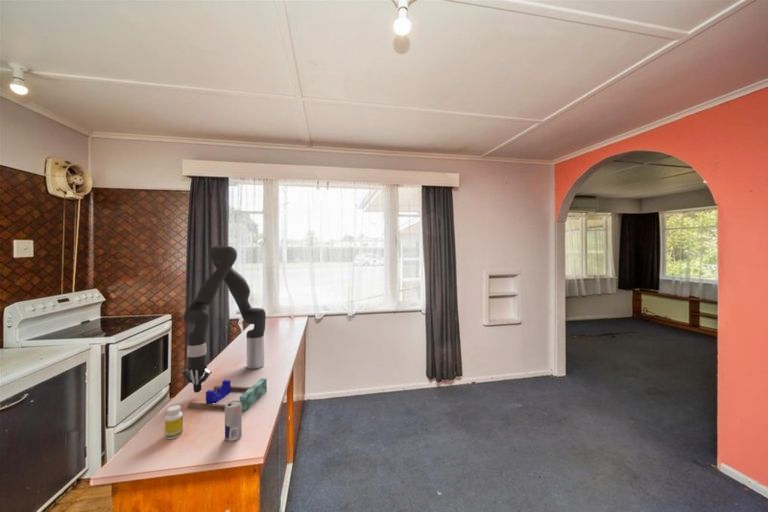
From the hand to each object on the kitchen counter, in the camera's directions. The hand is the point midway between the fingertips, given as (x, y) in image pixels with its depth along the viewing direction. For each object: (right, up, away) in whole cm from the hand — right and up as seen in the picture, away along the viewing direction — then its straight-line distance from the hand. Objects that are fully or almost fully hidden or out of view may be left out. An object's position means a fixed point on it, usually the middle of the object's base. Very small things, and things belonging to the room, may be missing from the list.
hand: (197, 391), depth 137 cm
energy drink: (+31, -3, -29) cm, 43 cm away
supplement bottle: (+9, -3, -28) cm, 30 cm away
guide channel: (+15, -3, -2) cm, 15 cm away
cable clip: (+10, -3, -1) cm, 10 cm away
